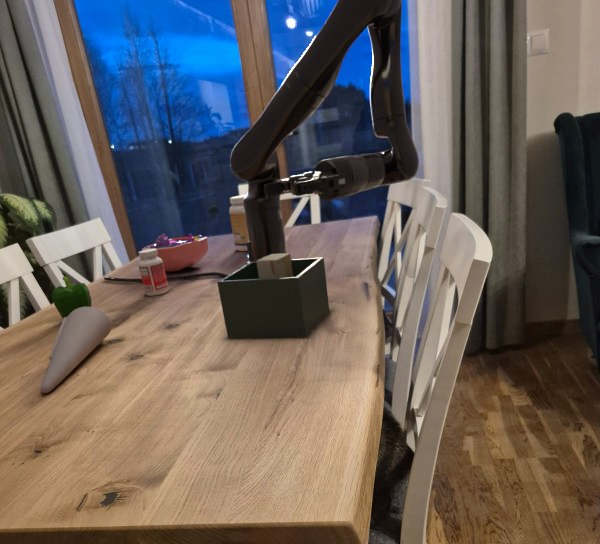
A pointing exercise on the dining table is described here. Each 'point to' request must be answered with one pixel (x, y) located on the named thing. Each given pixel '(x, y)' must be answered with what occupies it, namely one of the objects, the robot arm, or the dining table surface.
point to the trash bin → (274, 301)
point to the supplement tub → (239, 223)
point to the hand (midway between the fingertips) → (280, 190)
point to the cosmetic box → (275, 266)
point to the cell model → (180, 251)
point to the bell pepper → (71, 297)
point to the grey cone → (74, 343)
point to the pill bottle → (152, 273)
